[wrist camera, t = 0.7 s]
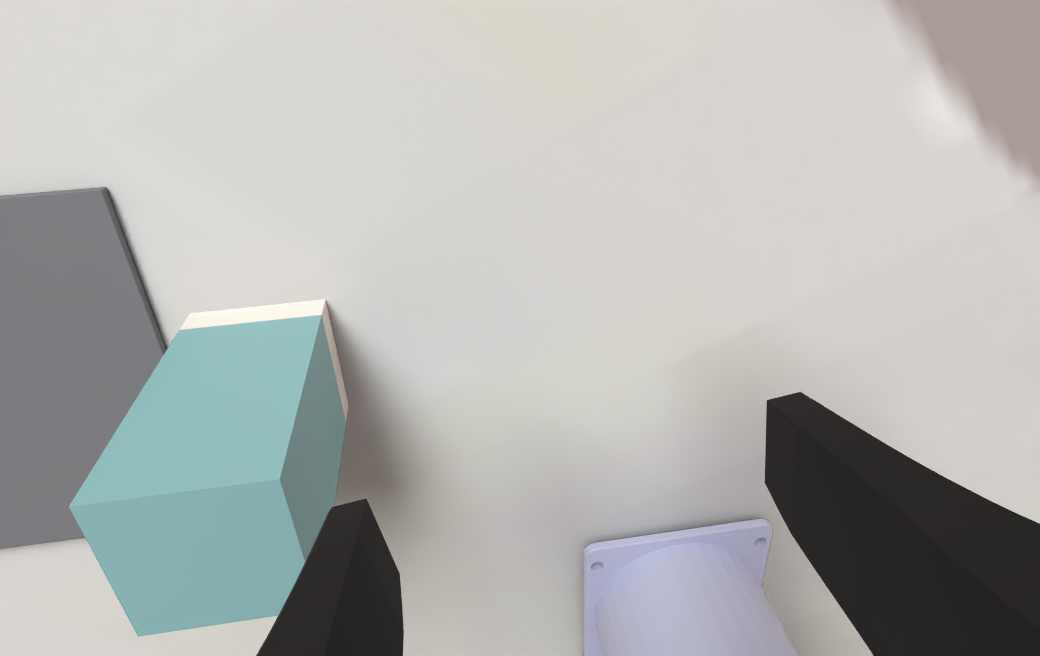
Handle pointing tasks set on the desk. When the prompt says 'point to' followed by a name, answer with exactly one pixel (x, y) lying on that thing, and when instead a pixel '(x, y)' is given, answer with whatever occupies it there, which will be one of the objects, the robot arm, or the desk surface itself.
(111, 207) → the pad
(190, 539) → the teal block
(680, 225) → the desk surface
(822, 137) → the desk surface
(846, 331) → the desk surface
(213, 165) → the desk surface
